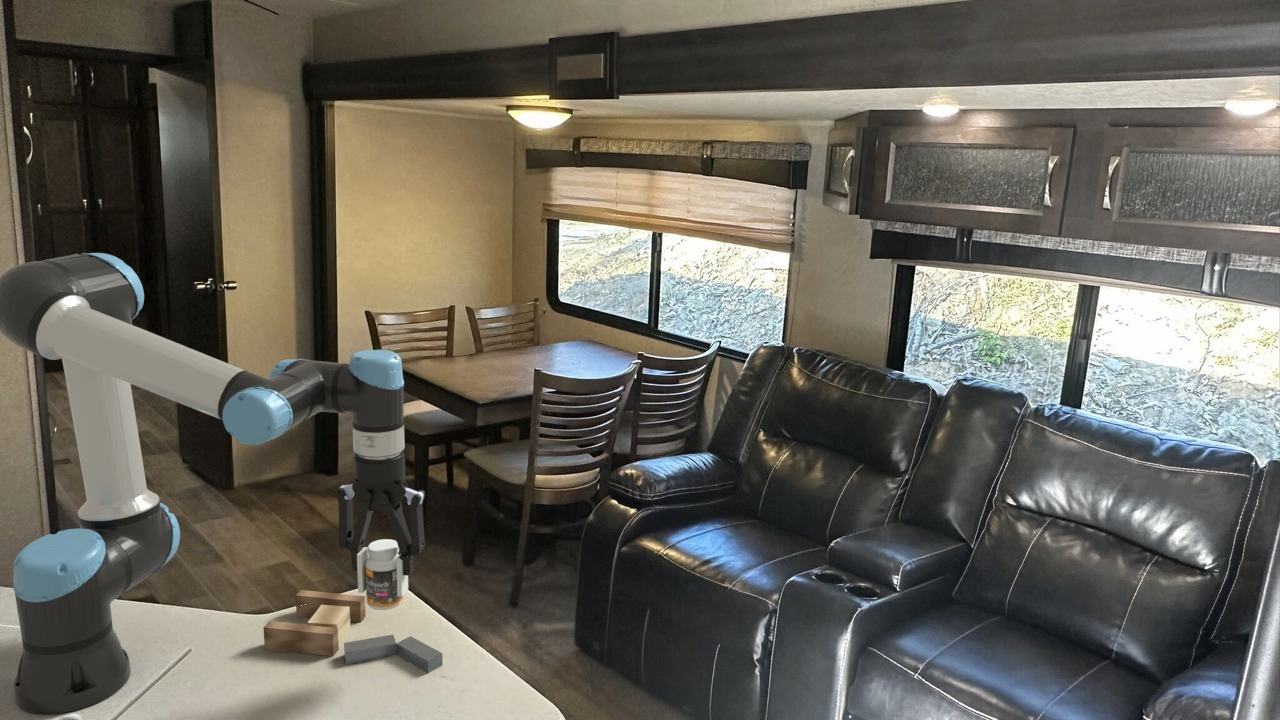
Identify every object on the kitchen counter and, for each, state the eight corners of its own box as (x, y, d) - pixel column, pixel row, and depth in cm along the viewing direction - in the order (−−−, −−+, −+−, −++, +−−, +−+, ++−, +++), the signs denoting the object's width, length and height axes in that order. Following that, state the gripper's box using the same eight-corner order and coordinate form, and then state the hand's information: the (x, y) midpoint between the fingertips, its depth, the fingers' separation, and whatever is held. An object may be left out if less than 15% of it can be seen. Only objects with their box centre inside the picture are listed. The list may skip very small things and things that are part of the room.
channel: (264, 648, 151) (263, 627, 150) (301, 610, 164) (300, 589, 163) (333, 656, 150) (332, 634, 149) (365, 616, 163) (364, 596, 162)
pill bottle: (360, 609, 142) (357, 550, 140) (377, 592, 148) (375, 535, 145) (393, 613, 141) (391, 555, 139) (410, 596, 146) (408, 539, 144)
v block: (337, 663, 148) (337, 651, 148) (354, 641, 154) (354, 630, 154) (437, 674, 146) (437, 661, 146) (450, 651, 153) (450, 640, 152)
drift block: (308, 643, 154) (307, 622, 153) (322, 625, 160) (321, 604, 159) (337, 645, 154) (336, 624, 153) (350, 627, 159) (349, 606, 158)
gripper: (309, 455, 135) (316, 596, 141) (430, 465, 133) (432, 608, 139) (331, 439, 142) (337, 574, 148) (446, 448, 140) (448, 584, 146)
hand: (383, 590), depth 143 cm, fingers closed on pill bottle, 6 cm apart
